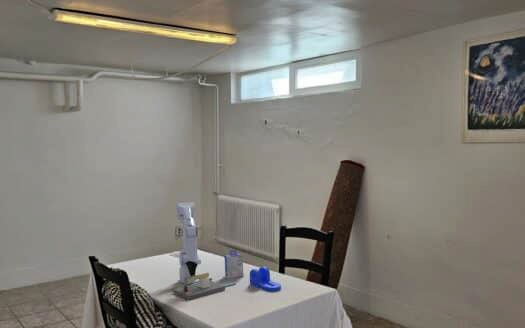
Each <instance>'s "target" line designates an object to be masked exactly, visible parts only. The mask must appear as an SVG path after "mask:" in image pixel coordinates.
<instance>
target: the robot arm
mask: <svg viewBox="0 0 525 328" xmlns="http://www.w3.org/2000/svg"><path fill="white" fill-rule="evenodd" d="M175 206H176V207H175V210H176V217H177V220H180V222H181V223H180V224H181V228H182V240H183V243H182V244H183V248H182V249H181V250H180V252H179V257H178V258H179V270H178V271H179V272H178V273H179V279H178V280H177V281H178V282H180V283H181V284H184V278H187V277H191V276H195V275H197V272H196V270H197V268H198V265H201V264H202V259H200V258H199V254H198V233H199V232H198V231H199V230H198V226H197V225H196V223H195V219H194V217H195V210H196V209H195V203H194V202H193V201H191V202H177V203H176V205H175ZM197 283H199V279H197V280H193V281H189V282H188V285H190V284H191V285H193V284H197Z"/></svg>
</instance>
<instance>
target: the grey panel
mask: <svg viewBox="0 0 525 328" xmlns="http://www.w3.org/2000/svg"><path fill="white" fill-rule="evenodd" d="M215 282H216V281H212V280H211V281H210V285H211V287H208V288H204V289H202V288H200V287H198V285H199V282H196V283H192V284H191V285H190V284H188V291H184V286H181V287H177V288H175V289H173V294H175V295H176V296H178V297H181V298H182V299H185V300H187V301H189V300H190V301H191V300H193V299H194V300H195V299H197V298H202V297H204V296H208V295H212V294H215V293H219V291H220V292H222V290H223V291H225V290H226V287H225V286H223V285H221V284H218V283H215Z"/></svg>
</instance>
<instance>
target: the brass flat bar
mask: <svg viewBox="0 0 525 328" xmlns="http://www.w3.org/2000/svg"><path fill="white" fill-rule="evenodd" d="M205 277H208V278H210V273H209V272H205V273H204V272H203V273H199V274H196V275H195V276H191V277H187V278H184V283H183V287H184V291H188V286H189V284H188V282H189V281H193V280H199V279H201V278H205Z"/></svg>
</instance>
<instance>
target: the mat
mask: <svg viewBox="0 0 525 328" xmlns="http://www.w3.org/2000/svg"><path fill="white" fill-rule="evenodd" d="M214 282H215V283H218V284H221V285H223V286H225V288H228V287H231V286H235V285H236V282H233V281H230V280H227V279H223V280H219V281H214Z"/></svg>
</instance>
